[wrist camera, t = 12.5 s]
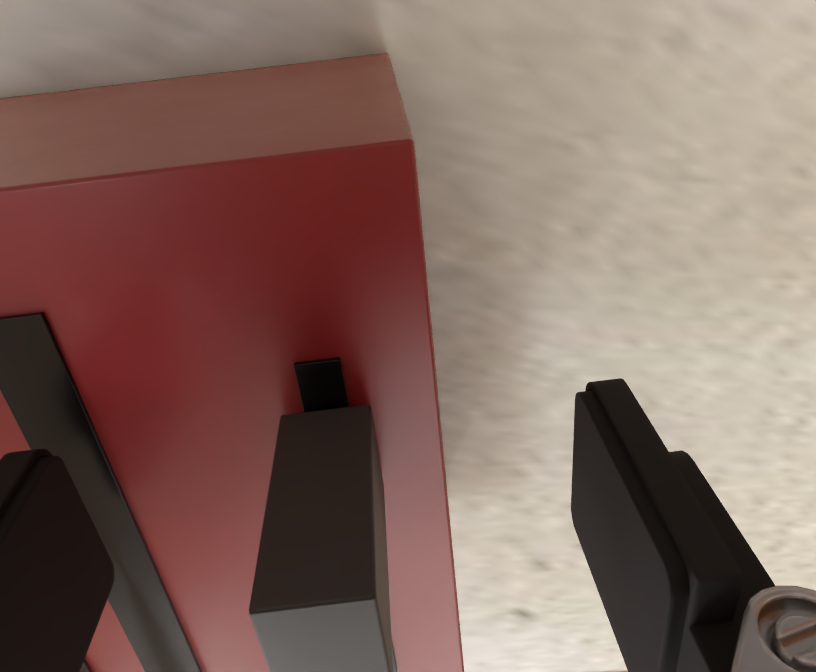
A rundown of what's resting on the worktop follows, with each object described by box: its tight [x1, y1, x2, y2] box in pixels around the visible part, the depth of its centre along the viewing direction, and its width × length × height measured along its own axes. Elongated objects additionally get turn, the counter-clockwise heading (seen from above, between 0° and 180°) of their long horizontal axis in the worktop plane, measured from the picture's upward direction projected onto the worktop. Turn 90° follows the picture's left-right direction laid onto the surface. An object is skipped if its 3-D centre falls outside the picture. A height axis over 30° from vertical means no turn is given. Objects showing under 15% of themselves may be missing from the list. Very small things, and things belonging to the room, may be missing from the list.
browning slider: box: [249, 405, 393, 672], centre depth 10 cm, size 2×2×4 cm
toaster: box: [0, 53, 464, 672], centre depth 17 cm, size 16×11×9 cm
